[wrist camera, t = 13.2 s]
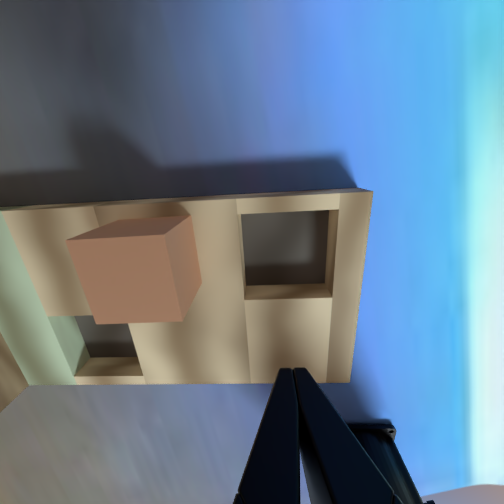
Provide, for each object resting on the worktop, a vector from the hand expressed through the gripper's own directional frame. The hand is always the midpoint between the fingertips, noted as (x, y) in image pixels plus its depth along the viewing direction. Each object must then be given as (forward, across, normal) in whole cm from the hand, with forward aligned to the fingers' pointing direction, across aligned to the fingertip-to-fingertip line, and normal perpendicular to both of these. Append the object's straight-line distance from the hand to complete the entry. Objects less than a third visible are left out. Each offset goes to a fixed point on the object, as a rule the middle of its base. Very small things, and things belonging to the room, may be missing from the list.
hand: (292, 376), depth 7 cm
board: (+12, +9, +3) cm, 15 cm away
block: (+9, +8, -1) cm, 12 cm away
